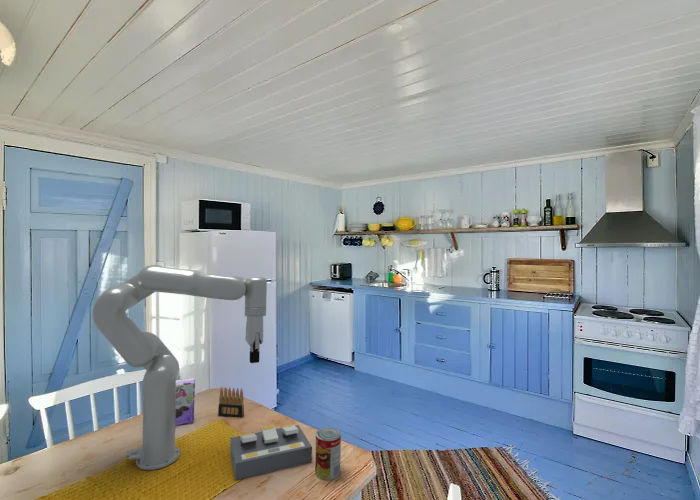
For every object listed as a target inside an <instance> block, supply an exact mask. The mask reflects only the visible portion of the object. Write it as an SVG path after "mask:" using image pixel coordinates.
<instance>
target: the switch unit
mask: <svg viewBox="0 0 700 500" xmlns="http://www.w3.org/2000/svg"><path fill="white" fill-rule="evenodd" d="M294 426H296V427H297V428H298V429H299V433H295V434H290V435H285V434H284V433H283V432H282V431H281V427H279V428H275V429H276V432H277V435H278V441H276V442H271V443H266V444H265V442H264V438H263V435H262V431H260V432H259V431H258V432H253V433H254V434H255V435H256V436H257V440H255V441H250V442H245V443H243V442H242V441H241V440H240V435H239V436H232V437H230V443H229V445H230V447H229V448H230V449H229V452H230V453H229V454H230V458H231V464H233V465H232V469H233V474H234V478H235V479H234V480H235V481H238V480H241V479H246V478H249V477H253V476H255V477H256V476H260V475H263V474H268V473H271V472H272V473H273V472H275V471H280V470H284V469H287V468H292V467H296V466H300V465H301V466H302V465H304V464H305V465H306V464H308V463H312V459H313V446H312V444H311V442H310V441H309V440H308V438H307V436H306V435H305V433H304V431H303V429H301V427H300V425H299V424H294Z"/></svg>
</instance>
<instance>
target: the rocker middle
mask: <svg viewBox="0 0 700 500" xmlns="http://www.w3.org/2000/svg"><path fill="white" fill-rule="evenodd" d="M276 429H277V428H276V427H275V424H271V425H270V424H269V425H266V426H261V427H260V430H261V431H260V432H262V435H263V438H264V442H265V444H266V443H271V442H276V441H278V435H277V432H276Z"/></svg>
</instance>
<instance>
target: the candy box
mask: <svg viewBox="0 0 700 500" xmlns="http://www.w3.org/2000/svg"><path fill="white" fill-rule="evenodd" d="M195 389H196V378H194V377H193V378H187V379H178V380H177V379H176V419H175V427H176V426H185V425H189V424H194V423H195V422H194V421H195V396H196V395H195V393H196V390H195Z"/></svg>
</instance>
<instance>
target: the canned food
mask: <svg viewBox="0 0 700 500" xmlns="http://www.w3.org/2000/svg"><path fill="white" fill-rule="evenodd" d="M341 443H342V434H341V431H340V430H338V429H337V428H335V427H323V428H320V429H318V430H317V431H316V433H315V463H314V465H315V466H314V469H315V471H314V472H315V473H314V474H315V476H316V477H317V478H318V479H320V480H325V481H330V480H331V481H332V480H335V479H337V478H338V477H339V476H340V474H341V453H342V452H341V450H342V449H341V447H342V445H341Z"/></svg>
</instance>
